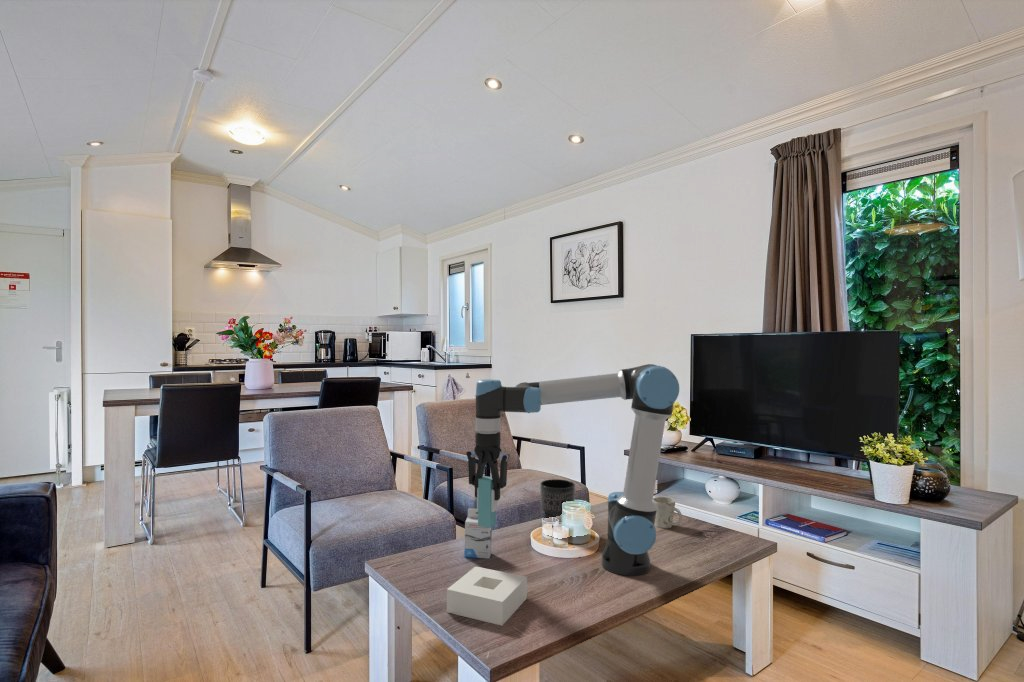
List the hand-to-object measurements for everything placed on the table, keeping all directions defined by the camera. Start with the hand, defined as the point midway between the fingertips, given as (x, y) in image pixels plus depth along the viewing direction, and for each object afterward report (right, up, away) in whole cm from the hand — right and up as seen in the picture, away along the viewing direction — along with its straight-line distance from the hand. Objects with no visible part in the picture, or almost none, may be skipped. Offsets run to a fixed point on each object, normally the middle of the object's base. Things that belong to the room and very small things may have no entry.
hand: (487, 509), depth 166 cm
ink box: (-4, -21, +17) cm, 27 cm away
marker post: (0, -5, 0) cm, 5 cm away
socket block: (+1, -21, -17) cm, 27 cm away
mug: (+67, -21, +47) cm, 85 cm away
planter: (+24, -21, +41) cm, 52 cm away
